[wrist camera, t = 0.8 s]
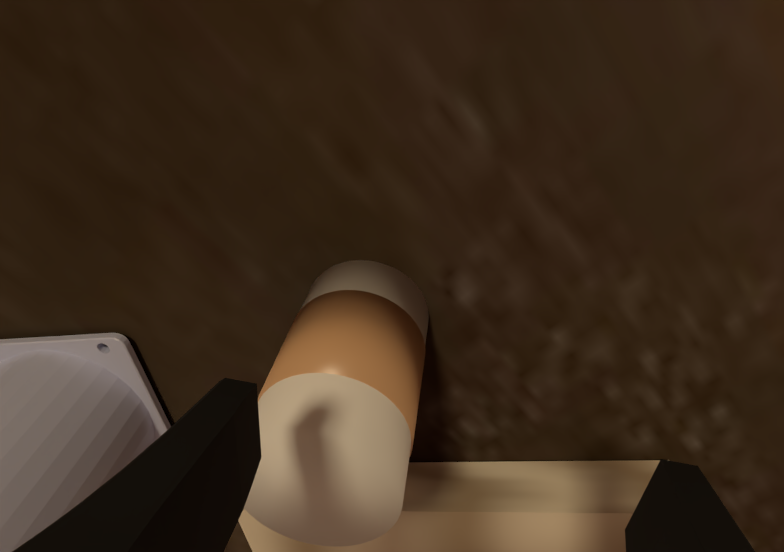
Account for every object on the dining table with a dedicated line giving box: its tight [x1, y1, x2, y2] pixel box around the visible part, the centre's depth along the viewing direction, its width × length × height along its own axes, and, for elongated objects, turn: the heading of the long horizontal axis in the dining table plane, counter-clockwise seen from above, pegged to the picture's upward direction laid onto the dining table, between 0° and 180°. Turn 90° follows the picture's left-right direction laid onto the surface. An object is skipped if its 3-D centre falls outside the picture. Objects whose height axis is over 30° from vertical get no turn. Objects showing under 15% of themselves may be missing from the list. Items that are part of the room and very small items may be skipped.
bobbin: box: [244, 260, 429, 547], centre depth 19 cm, size 5×5×8 cm
